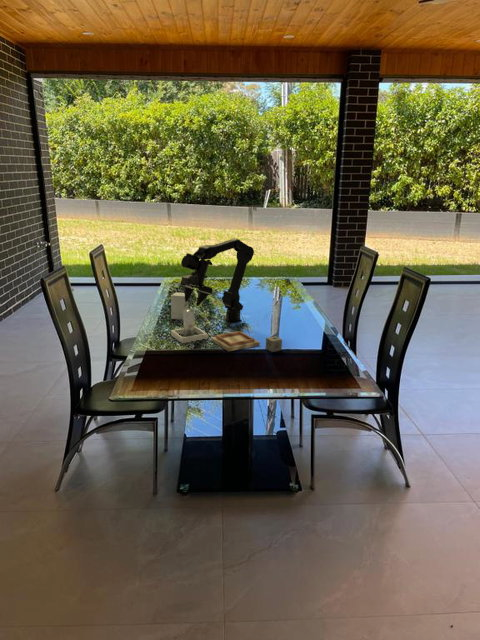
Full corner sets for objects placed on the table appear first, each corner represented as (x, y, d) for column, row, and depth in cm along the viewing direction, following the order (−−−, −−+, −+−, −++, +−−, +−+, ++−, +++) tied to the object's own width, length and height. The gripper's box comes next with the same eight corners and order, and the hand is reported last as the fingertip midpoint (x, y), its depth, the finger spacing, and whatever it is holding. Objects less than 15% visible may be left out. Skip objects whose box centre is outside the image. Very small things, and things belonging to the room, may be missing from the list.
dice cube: (281, 350, 222) (282, 339, 221) (272, 352, 220) (272, 341, 218) (274, 346, 226) (275, 336, 225) (265, 348, 224) (266, 337, 222)
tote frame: (195, 331, 245) (195, 326, 244) (207, 339, 235) (207, 333, 234) (171, 335, 239) (171, 330, 238) (182, 343, 229) (182, 338, 228)
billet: (191, 334, 240) (191, 308, 236) (196, 337, 236) (196, 311, 232) (182, 336, 238) (181, 309, 234) (186, 339, 234) (185, 312, 230)
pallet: (241, 335, 240) (241, 329, 240) (259, 345, 227) (259, 339, 226) (211, 340, 233) (211, 334, 232) (228, 351, 220) (228, 345, 219)
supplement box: (184, 320, 263) (184, 296, 259) (171, 318, 264) (170, 295, 260) (189, 315, 270) (188, 292, 266) (175, 315, 271) (175, 292, 267)
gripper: (175, 265, 242) (167, 296, 243) (199, 271, 229) (189, 304, 230) (193, 270, 250) (185, 301, 251) (217, 276, 237) (208, 309, 237)
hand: (191, 303), depth 242 cm, fingers open, 9 cm apart
